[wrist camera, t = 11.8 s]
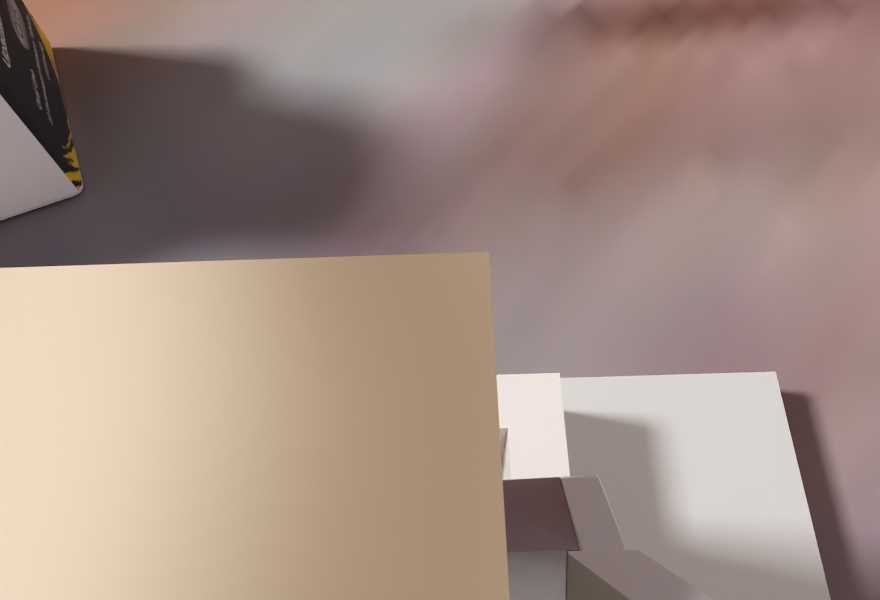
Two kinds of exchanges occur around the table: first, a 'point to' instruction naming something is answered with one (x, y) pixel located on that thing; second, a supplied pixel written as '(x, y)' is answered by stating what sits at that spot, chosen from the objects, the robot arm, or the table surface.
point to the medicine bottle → (32, 119)
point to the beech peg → (251, 431)
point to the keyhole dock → (678, 471)
